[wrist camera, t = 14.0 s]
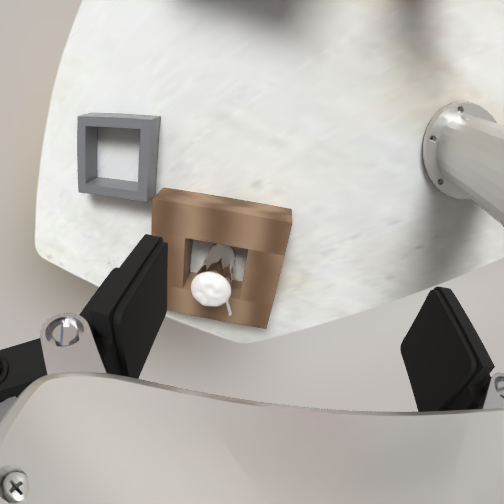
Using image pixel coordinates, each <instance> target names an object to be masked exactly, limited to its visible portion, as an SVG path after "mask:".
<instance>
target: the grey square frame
mask: <svg viewBox="0 0 504 504" xmlns="http://www.w3.org/2000/svg"><path fill="white" fill-rule="evenodd" d="M160 119H161V116H149V115H134V114H113V113H88V114H84V115H81V116H78V132H77V157H78V188H79V192H81V193H88V194H95V195H102V196H109V197H116V198H123V199H129V200H136V201H143V202H148V201H149V200H150V199H151V198H152V197H153V196H154V195H155V194H156V173H157V157H158V143H159V130H160ZM98 127H115V128H130V129H141V132H140V149H139V171H138V182H132V181H125V180H117V179H109V178H100V177H97V129H98Z"/></svg>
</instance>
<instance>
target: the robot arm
mask: <svg viewBox="0 0 504 504" xmlns="http://www.w3.org/2000/svg"><path fill="white" fill-rule="evenodd" d="M458 108H459V109H458ZM431 136H432V138H431V139H430V137H431ZM423 159H424V165H425V168H426V171H427V173H428V176H429V177H430V179H431V181H432V182H433V183H434V185H435V186H436V187H437V188H438V189H439V190H441V191H442V192H443V193H444V194H446V195H448V196H449V197H452V198H455V199H462V200H466V199H471V200H472V201H474V202H475V203H476V204H477V205H479V206H480V207H481V208H482V209H484V210H485V211H486V212H487V213H488V214H489V215H491V216H492V217H493V218H494V219H495V220H496V221H498V222H499V223H500V224H501V225H502V226H503V227H504V125H501V124H498V123H497V122H496V121H495V119H494V118H493V116H492V115H491V114H490V113H489V112H488V111H487V110H485V109H484V108H482V107H481V106H479V105H476V104H473V103H469V102H455V103H451V104H449V105H447V106H445V107H443V108H442V109H441V110H440V111H438V112H437V113H436V114H435V116H434V117H433V118H432V120H431V121H430V123H429V125H428V127H427V130H426V133H425V136H424V142H423ZM438 179H439V181H438ZM167 271H168V243H167V242H163V238H162V237H159V236H153V235H148V234H146V235H144V237H143V238H142V239H141V240H140V242H139V243H138V244H137V246H136V247H135V248H134V249H133V251H132V252H131V253H130V255H129V256H128V257H127V259H126V260H125V261H124V262H123V264H122V265H121V266H120V268H114V269H113V270H112V271H111V273H110V274H109V275H108V276H107V278H106V279H105V280H104V282H103V283H102V284H101V286H100V287H99V288H98V290H97V291H96V293H95V294H94V295H93V297H92V298H91V299H90V301H89V302H88V304H87V305H86V306H85V308H84V309H83V311H82V312H81V313H80V315H77V314H73V313H62V314H58V315H55V316H53V317H51V318H50V319H48V320H47V321H46V322H45V323H44V324H43V326H42V329H41V331H40V338H39V339H36V340H32V341H29V342H26V343H22V344H19V345H16V346H12V347H9V348H6V349H2V350H0V504H504V374H503V373H496V374H494V375H493V376H492V377H490V374H489V373H490V372H491V371H492V370H493V368H494V367H495V366H494V364H493V362H492V361H491V358H490V357H489V355H488V353H487V351H486V349H485V347H484V345H483V343H482V342H481V340H480V338H479V336H478V334H477V332H476V331H475V329H474V327H473V325H472V323H471V322H470V320H469V318H468V317H467V315H466V313H465V311H464V310H463V308H462V307H461V305H460V303H459V301H458V300H457V298H456V297H455V295H454V293H453V292H452V290H451V289H449V288H443V287H435V288H434V290H431V291H430V292H429V294H428V296H427V298H426V300H425V302H424V304H423V306H422V307H421V309H420V311H419V313H418V315H417V317H416V319H415V320H414V322H413V324H412V326H411V328H410V330H409V331H408V333H407V335H406V337H405V338H404V340H403V342H402V344H401V354H402V357H403V360H404V363H405V366H406V370H407V373H408V376H409V380H410V383H411V387H412V390H413V393H414V397H415V400H416V404H417V408H418V412H371V411H369V412H368V411H348V410H330V409H318V408H307V407H297V406H287V405H279V404H270V403H264V402H256V401H249V400H243V399H236V398H230V397H225V396H219V395H214V394H208V393H203V392H197V391H192V390H187V389H182V388H177V387H173V386H168V385H164V384H159V383H155V382H150V381H145V380H140V379H138V378H139V376H140V373H141V371H142V368H143V366H144V364H145V361H146V359H147V356H148V354H149V352H150V349H151V347H152V345H153V342H154V340H155V338H156V336H157V333H158V331H159V329H160V326H161V324H162V322H163V320H164V317H165V315H166V311H167Z"/></svg>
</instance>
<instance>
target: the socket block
mask: <svg viewBox="0 0 504 504" xmlns="http://www.w3.org/2000/svg"><path fill="white" fill-rule="evenodd" d="M291 226H292V210H291V209H288V208H283V207H277V206H272V205H266V204H261V203H255V202H250V201H244V200H238V199H232V198H226V197H220V196H214V195H208V194H202V193H196V192H189V191H183V190H176V189H169V188H163V189H162V190H161V191H160V192H159V193H158V194H157V195H156V196H155V197H154V198H153V199H152V235H153V236H159V237H162V238H163V242H167V243H168V271H167V310H170V311H175V312H179V313H184V314H189V315H194V316H199V317H204V318H209V319H214V320H219V321H224V322H230V323H235V324H241V325H247V326H252V327H258V328H264V329H266V328H267V324H268V320H269V316H270V312H271V308H272V305H273V301H274V297H275V293H276V289H277V284H278V280H279V276H280V272H281V268H282V264H283V260H284V256H285V252H286V247H287V243H288V239H289V235H290V230H291ZM192 239H194V240H200V241H206V242H211V243H217V244H222V245H228V246H233V247H239V248H245V249H248V254H247V260H246V265H245V271H244V277H243V282H241V281H236V280H232V285H231V295H230V298H229V299H228V301H229V305H230V309H231V313H232V315H231V316H229V313H228V309H227V305H226V302H225V303H224V304H222V305H220V306H216V307H214V306H204V305H202V304H201V303H200V302H198V301H197V300H196V299H195V298H194V296H193V295H192V291H191V284H192V281H193V279H194V277H195V276H196V274H197V273H193V272H190V264H191V249H192Z"/></svg>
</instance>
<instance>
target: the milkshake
mask: <svg viewBox="0 0 504 504" xmlns="http://www.w3.org/2000/svg"><path fill="white" fill-rule="evenodd" d="M234 257H235V255H234V252H233V249H232V248H231V247H230V246H228V245H222V244H217V245H215V246H213V247H212V248H211V250H210V252H209V254H208V255H207V257H206V259H205V261H204V262H203V264H202V266H201V268H200V269H199V271H198V273H197V274H196V276H195V277H194V279H193V281H192V284H191V291H192V295H193V296H194V298H195V299H196V300H197V301H198V302H200V303H201V304H202V305H204V306H214V307H216V306H220V305H222V304H224V303H225V302H226V305H227V309H228V313H229V316H231V315H232V313H231V309H230V305H229V301H228V299H229V298H230V295H231V285H232V274H233V265H234Z"/></svg>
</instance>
